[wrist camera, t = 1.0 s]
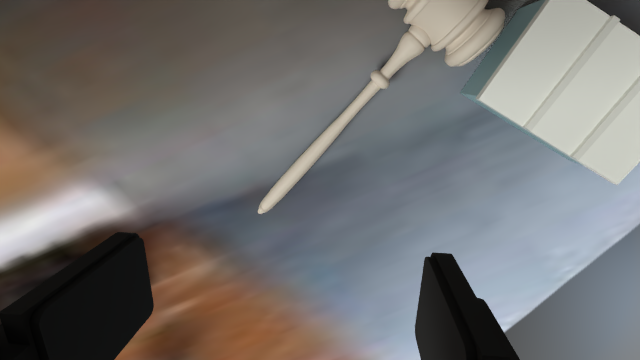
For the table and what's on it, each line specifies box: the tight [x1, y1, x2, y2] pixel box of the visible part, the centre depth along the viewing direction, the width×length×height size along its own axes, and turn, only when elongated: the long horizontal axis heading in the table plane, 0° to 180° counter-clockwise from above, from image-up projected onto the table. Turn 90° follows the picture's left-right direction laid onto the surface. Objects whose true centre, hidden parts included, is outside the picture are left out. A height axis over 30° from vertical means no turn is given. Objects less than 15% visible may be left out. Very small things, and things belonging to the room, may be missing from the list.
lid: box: [475, 0, 640, 185], centre depth 26 cm, size 10×19×4 cm, turn 60°
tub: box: [460, 0, 583, 166], centre depth 30 cm, size 9×14×6 cm, turn 60°
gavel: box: [258, 0, 505, 214], centre depth 34 cm, size 10×6×32 cm
